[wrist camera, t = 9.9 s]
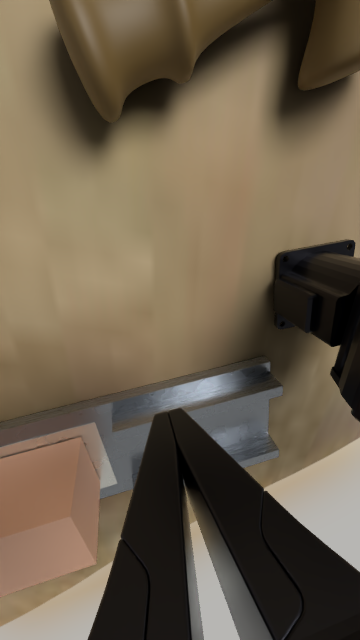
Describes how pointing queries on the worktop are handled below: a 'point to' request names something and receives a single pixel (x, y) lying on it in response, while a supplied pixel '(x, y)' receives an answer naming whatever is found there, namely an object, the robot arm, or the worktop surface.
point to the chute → (137, 414)
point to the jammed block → (47, 514)
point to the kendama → (185, 42)
